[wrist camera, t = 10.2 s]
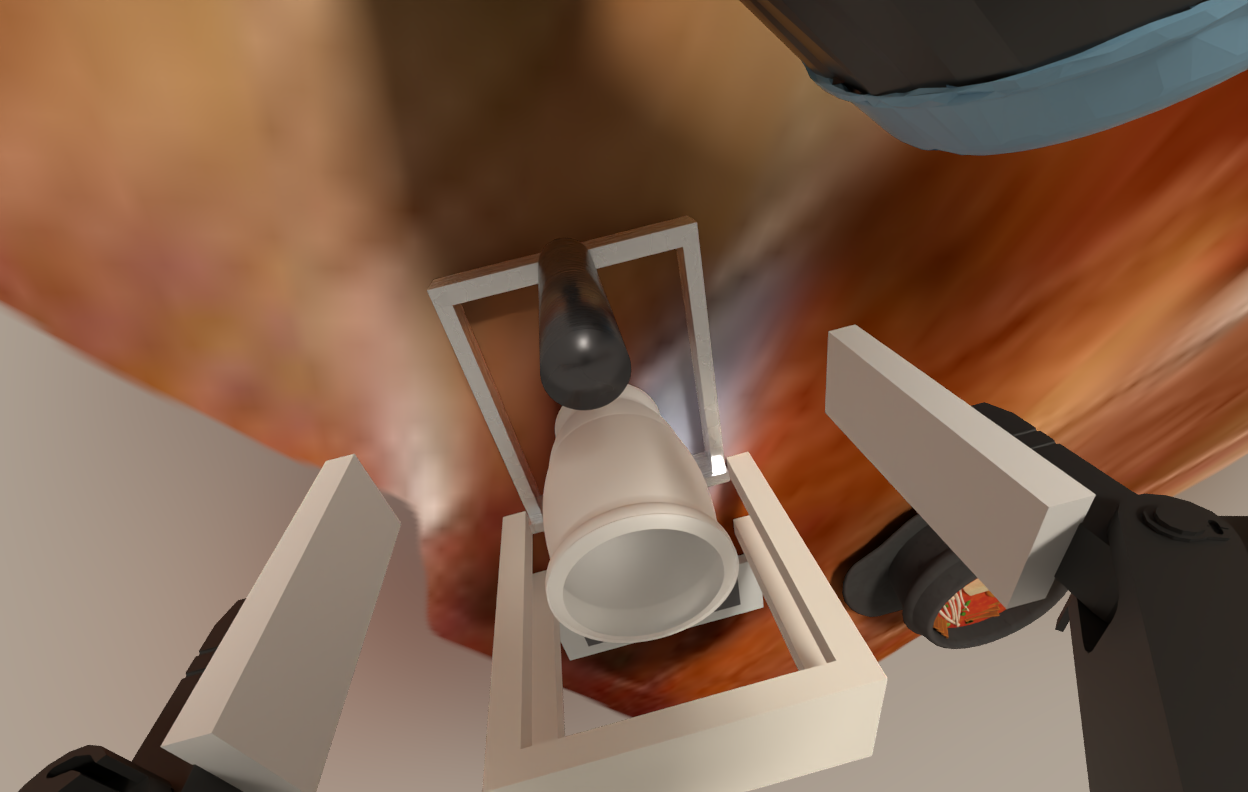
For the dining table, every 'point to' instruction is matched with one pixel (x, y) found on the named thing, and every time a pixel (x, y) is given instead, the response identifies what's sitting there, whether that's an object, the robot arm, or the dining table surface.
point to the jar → (630, 526)
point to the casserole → (935, 591)
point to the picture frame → (581, 335)
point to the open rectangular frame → (701, 729)
